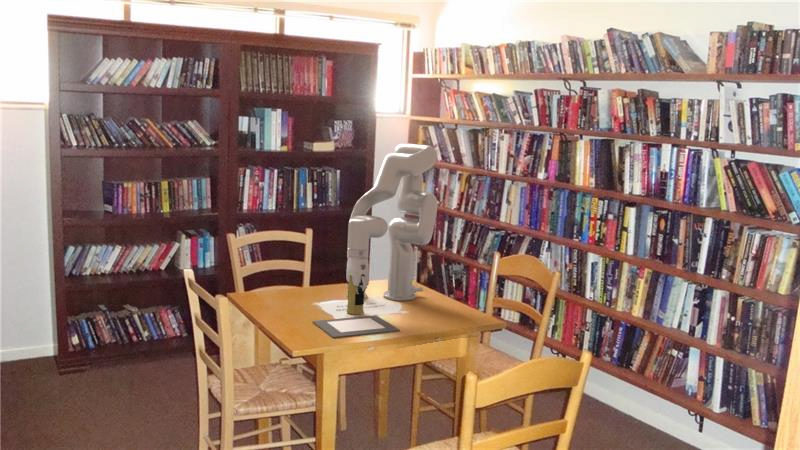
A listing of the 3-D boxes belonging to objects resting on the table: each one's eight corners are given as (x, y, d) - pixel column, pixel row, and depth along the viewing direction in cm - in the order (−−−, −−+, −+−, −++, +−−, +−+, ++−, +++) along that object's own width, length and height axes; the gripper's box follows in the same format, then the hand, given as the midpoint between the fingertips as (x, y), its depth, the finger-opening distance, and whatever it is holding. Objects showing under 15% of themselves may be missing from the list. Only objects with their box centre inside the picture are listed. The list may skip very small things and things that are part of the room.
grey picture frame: (376, 316, 259) (376, 314, 259) (400, 331, 243) (400, 329, 243) (312, 322, 248) (312, 320, 247) (333, 338, 232) (333, 336, 232)
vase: (364, 311, 265) (366, 272, 263) (362, 315, 259) (364, 276, 257) (348, 309, 266) (349, 271, 264) (345, 314, 260) (347, 274, 258)
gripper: (378, 257, 254) (375, 308, 256) (357, 248, 269) (355, 296, 271) (358, 258, 250) (355, 309, 253) (338, 248, 265) (336, 297, 268)
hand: (355, 302), depth 262 cm, fingers closed on vase, 5 cm apart
